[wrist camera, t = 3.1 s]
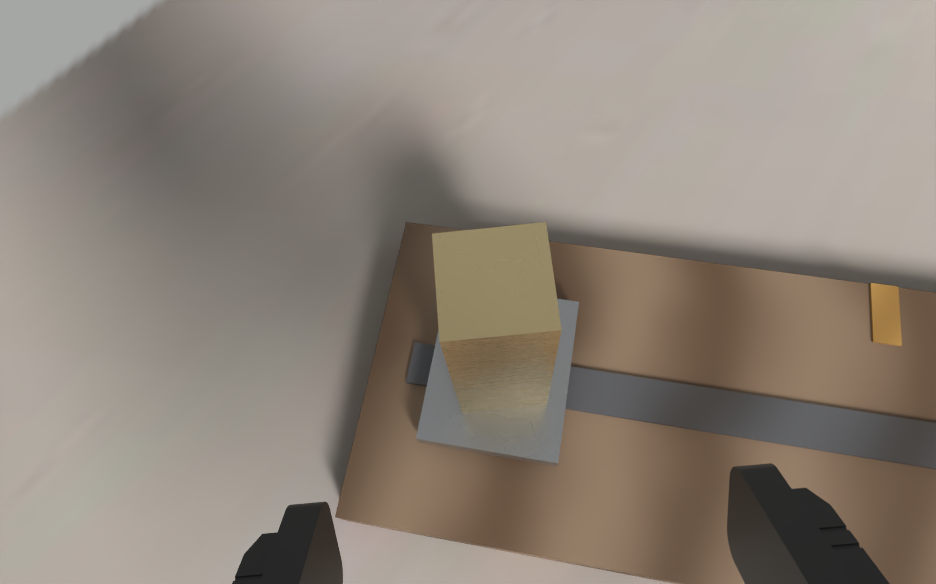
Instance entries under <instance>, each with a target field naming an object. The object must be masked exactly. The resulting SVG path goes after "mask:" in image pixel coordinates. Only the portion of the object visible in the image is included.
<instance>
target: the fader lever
mask: <svg viewBox="0 0 936 584" xmlns="http://www.w3.org/2000/svg"><path fill="white" fill-rule="evenodd" d="M432 242H433V256H434V271H435V285H436V300H437V314H438V328H439V330H438V334H437V339H436V344H435V349H434V354H433V358H432V363H431V368H430V373H429V378H428V383H427V387H426V392H425V397H424V402H423V407H422V411H421V416H420V421H419V426H418V431H417V435H416V440H417V441H418V442H419V443H424V444H430V445H435V446H441V447H447V448H453V449H458V450H464V451H470V452H475V453H481V454H487V455H493V456H498V457H504V458H510V459H516V460H521V461H527V462H533V463H539V464H544V465H550V466H556V467H557V465H558V462H559V454H560V446H561V438H562V431H563V423H564V415H565V407H566V399H567V392H568V384H569V376H570V368H571V361H572V353H573V345H574V337H575V329H576V322H577V314H578V306H579V302H577V301H570V300H563V299H557V294H556V287H555V280H554V273H553V266H552V259H551V253H550V246H549V239H548V232H547V225H546V222H541V223H531V224H521V225H511V226H502V227H492V228H482V229H472V230H463V231H453V232H443V233H433V234H432Z"/></svg>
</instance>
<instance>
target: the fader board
mask: <svg viewBox="0 0 936 584" xmlns="http://www.w3.org/2000/svg"><path fill="white" fill-rule="evenodd" d="M453 231H463V230H461V229H453V228H446V227H438V226H431V225H423V224H416V223H408V222H406V226H405V230H404V234H403V238H402V242H401V246H400V251H399V255H398V259H397V263H396V267H395V271H394V275H393V280H392V284H391V288H390V292H389V296H388V300H387V304H386V308H385V313H384V317H383V321H382V325H381V329H380V333H379V337H378V342H377V346H376V350H375V354H374V358H373V362H372V366H371V371H370V375H369V379H368V383H367V387H366V391H365V395H364V400H363V404H362V408H361V412H360V416H359V420H358V424H357V428H356V433H355V437H354V441H353V445H352V449H351V453H350V457H349V462H348V466H347V470H346V474H345V478H344V482H343V486H342V491H341V495H340V499H339V503H338V507H337V511H336V515H335V517H337V518H340V519H344V520H347V521H351V522H357V523H362V524H367V525H372V526H377V527H383V528H388V529H393V530H398V531H404V532H409V533H414V534H419V535H424V536H430V537H435V538H440V539H445V540H451V541H456V542H461V543H466V544H471V545H477V546H482V547H487V548H492V549H498V550H503V551H508V552H513V553H518V554H524V555H529V556H534V557H539V558H545V559H550V560H555V561H560V562H565V563H571V564H576V565H581V566H586V567H592V568H597V569H602V570H607V571H612V572H618V573H623V574H628V575H633V576H639V577H644V578H649V579H654V580H659V581H665V582H670V583H675V584H745V583H744V581H743V579H742V577H741V575H740V573H739V571H738V569H737V567H736V565H735V562H734V560H733V558H732V555H731V552H730V548H729V543H728V537H727V515H728V496H729V478H730V471H731V469H732V467H735V466H746V465H757V464H769V463H772V464H774V465H775V466H776V467H777V468H778V470H779V471H780V473H781V474H782V476H783V477H784V479H785V480H786V481H787V483H788V484H789V486H790V487H791V489H795V488H807V489H809V490H810V491H812V492H813V493H814V494H816V495H817V496H819V497H820V498H822V499H823V500H824V501H826V502H827V503H829V504H830V505H831V506H832V507H833V509H834V510H835V511H836V513H837V514H838V515H839V517H840V518H841V519H842V521H843V522H844V523H845V525H846V528H847V530H850V531H851V533H852V534H853V535H854V537H855V538H856V539H857V541H858V542H859V546H860V548H862V547H863V549H864V550H865V551H866V553H867V554H868V555H869V557H870V558H871V559H872V561H873V562H874V563H875V565H876V566H877V567H878V569H879V570H880V571H881V573H882V574H883V575H884V577H885V578H886V579H887V581H888V582H889V583H890V584H936V293H935V292H927V291H920V290H912V289H905V288H898V286H891V285H883V284H876V283H870V284H867V283H859V282H852V281H844V280H837V279H829V278H822V277H814V276H807V275H799V274H792V273H784V272H777V271H769V270H762V269H754V268H747V267H739V266H732V265H724V264H716V263H709V262H701V261H694V260H686V259H679V258H671V257H664V256H656V255H649V254H641V253H634V252H626V251H619V250H611V249H604V248H596V247H589V246H581V245H574V244H566V243H558V242H551V241H549V246H550V253H551V259H552V266H553V273H554V280H555V287H556V294H557V299H563V300H570V301H577V302H579V306H578V314H577V322H576V329H575V337H574V345H573V353H572V361H571V368H570V376H569V384H568V392H567V399H566V407H565V415H564V423H563V431H562V438H561V446H560V454H559V462H558V465H557V467H556V466H550V465H544V464H539V463H533V462H527V461H521V460H516V459H510V458H504V457H498V456H493V455H487V454H481V453H475V452H470V451H464V450H458V449H453V448H447V447H441V446H435V445H430V444H424V443H419V442H418V441H417V440H416V435H417V431H418V426H419V421H420V416H421V411H422V407H423V402H424V397H425V392H426V387H427V383H428V378H429V373H430V368H431V363H432V358H433V354H434V349H435V344H436V339H437V334H438V330H439V328H438V314H437V300H436V285H435V271H434V256H433V242H432V234H433V233H443V232H453Z"/></svg>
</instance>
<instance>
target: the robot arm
mask: <svg viewBox="0 0 936 584" xmlns="http://www.w3.org/2000/svg"><path fill="white" fill-rule="evenodd" d="M727 537H728V543H729V548H730V552H731V555H732V558H733V560H734V562H735V565H736V567H737V569H738V571H739V573H740V575H741V577H742V579H743V581H744V583H745V584H890V583H889V582H888V581H887V579H886V578H885V577H884V575H883V574H882V573H881V571H880V570H879V569H878V567H877V566H876V565H875V563H874V562H873V561H872V559H871V558H870V557H869V555H868V554H867V553H866V551H865V550H864V549H863V547H862V548H860V546H859V542H858V541H857V539H856V538H855V537H854V535H853V534H852V533H851V531H850V530H847V528H846V525H845V523H844V522H843V521H842V519H841V518H840V517H839V515H838V514H837V513H836V511H835V510H834V509H833V507H832V506H831V505H830V504H829V503H827V502H826V501H824V500H823V499H822V498H820V497H819V496H817V495H816V494H814V493H813V492H812V491H810V490H809V489H807V488H795V489H791V487H790V486H789V484H788V483H787V481H786V480H785V479H784V477H783V476H782V474H781V473H780V471H779V470H778V468H777V467H776V466H775V465H774V464H772V463H769V464H757V465H746V466H735V467H732V469H731V471H730V478H729V496H728V515H727ZM232 584H343V570H342V561H341V556H340V552H339V547H338V543H337V538H336V534H335V529H334V525H333V521H332V516H331V512H330V508H329V505H328V503H327V502H317V503H306V504H294V505H289V506H288V507H287V508H286V511H285V513H284V516H283V519H282V522H281V525H280V528H279V530H278V533H267V534H262V535H261V536H260V537H259V538H258V539H257V541H256V542H255V543H254V544H253V545H252V546H251V547H250V548H249V549H248V551H247V552H246V553H245V554H244V556H243V558H242V561H241V563H240V566H239V568H238V571H237V573H236V576H235V581H233V583H232Z"/></svg>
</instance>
